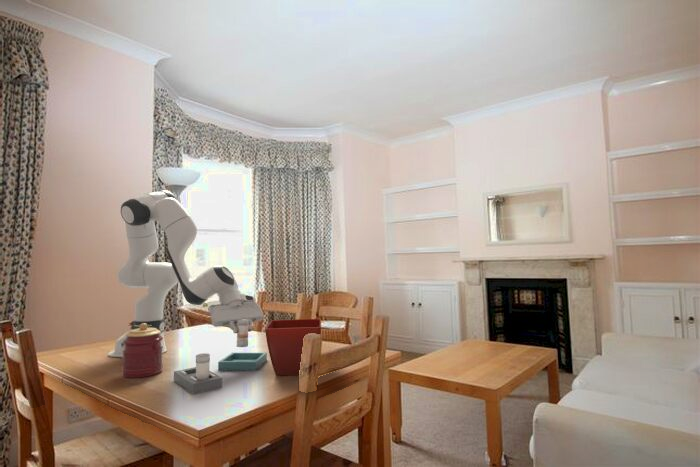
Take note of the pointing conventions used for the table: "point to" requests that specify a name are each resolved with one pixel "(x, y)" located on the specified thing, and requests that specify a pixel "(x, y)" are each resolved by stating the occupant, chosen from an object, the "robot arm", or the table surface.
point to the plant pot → (288, 343)
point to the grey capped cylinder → (242, 332)
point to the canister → (142, 352)
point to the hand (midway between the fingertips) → (243, 331)
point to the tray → (242, 361)
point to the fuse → (202, 366)
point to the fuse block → (191, 384)
